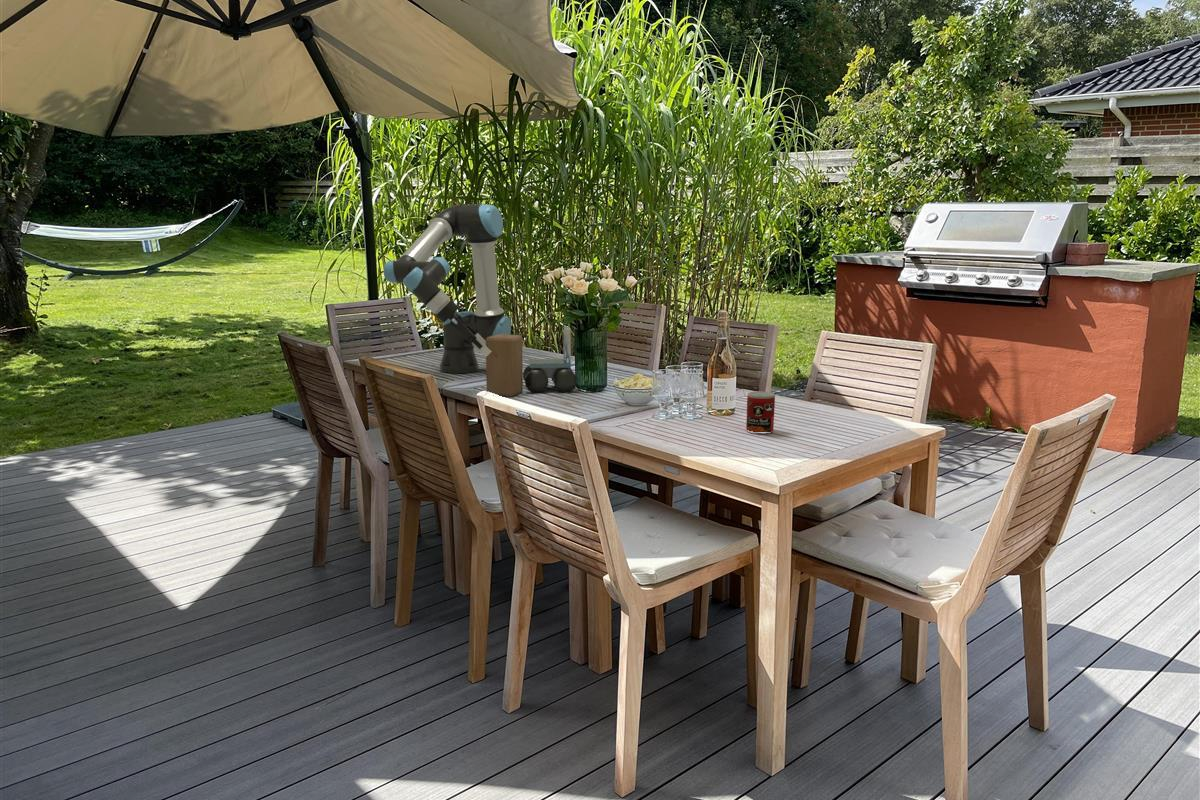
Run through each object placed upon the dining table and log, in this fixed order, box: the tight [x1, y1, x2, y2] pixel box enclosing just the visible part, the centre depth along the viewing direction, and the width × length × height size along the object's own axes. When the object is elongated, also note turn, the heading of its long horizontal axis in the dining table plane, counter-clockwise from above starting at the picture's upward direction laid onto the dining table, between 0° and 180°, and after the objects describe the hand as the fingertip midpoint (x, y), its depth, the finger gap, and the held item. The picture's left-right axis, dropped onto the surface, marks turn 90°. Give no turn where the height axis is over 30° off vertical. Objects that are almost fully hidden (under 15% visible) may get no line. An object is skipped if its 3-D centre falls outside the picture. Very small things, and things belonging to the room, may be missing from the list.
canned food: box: [745, 390, 776, 432], centre depth 261 cm, size 8×8×11 cm
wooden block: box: [485, 334, 524, 398], centre depth 314 cm, size 10×10×20 cm
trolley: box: [523, 324, 578, 394], centre depth 322 cm, size 14×18×25 cm
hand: (488, 351), depth 311 cm, fingers open, 13 cm apart
